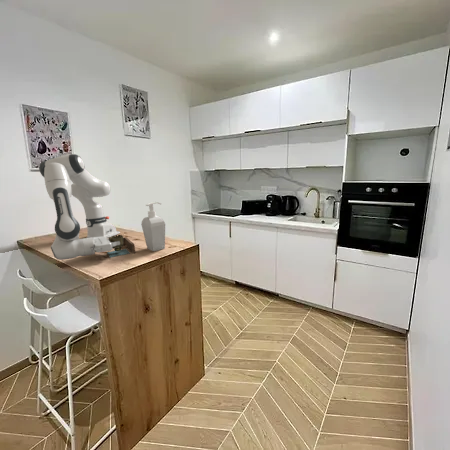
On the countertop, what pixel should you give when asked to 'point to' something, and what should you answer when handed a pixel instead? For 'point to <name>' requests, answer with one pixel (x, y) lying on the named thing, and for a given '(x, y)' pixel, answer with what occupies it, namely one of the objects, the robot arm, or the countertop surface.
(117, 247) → the cup
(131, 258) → the countertop surface
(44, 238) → the countertop surface
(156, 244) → the soap bottle
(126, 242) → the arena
